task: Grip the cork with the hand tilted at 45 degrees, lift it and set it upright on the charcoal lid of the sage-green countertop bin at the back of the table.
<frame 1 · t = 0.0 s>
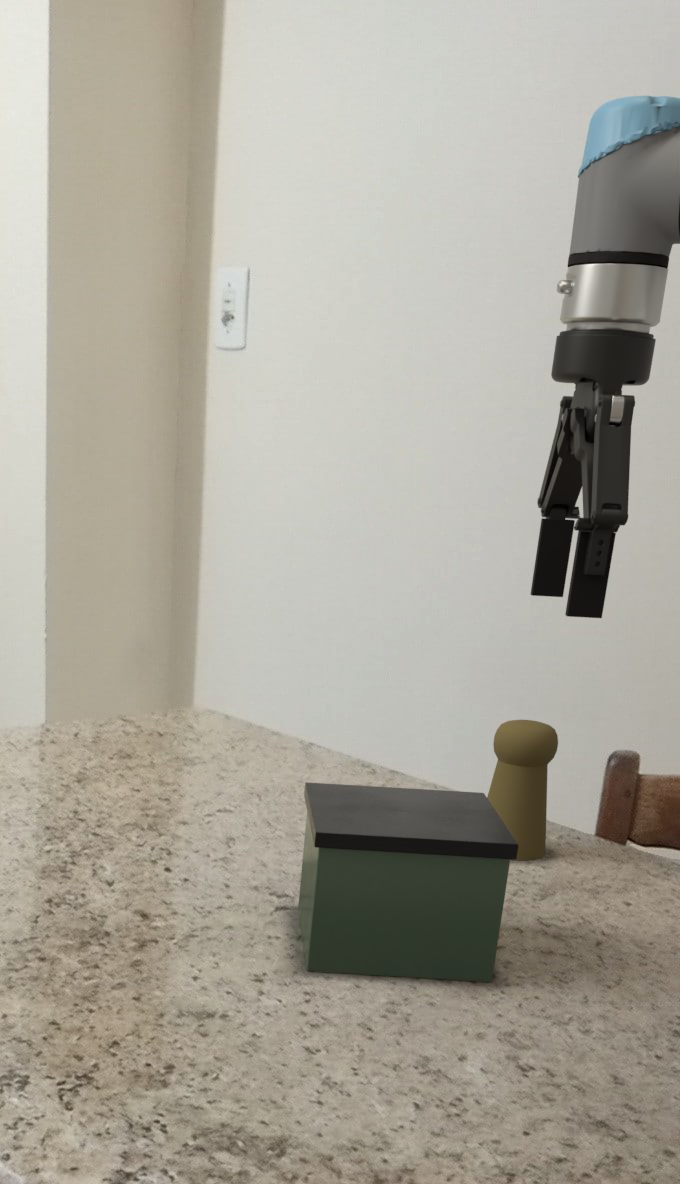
hand: (563, 606, 116), 20 cm above the table, tool pointing down, fingers open, 13 cm apart
bin: (388, 944, 95), on the table
cork: (509, 851, 118), on the table
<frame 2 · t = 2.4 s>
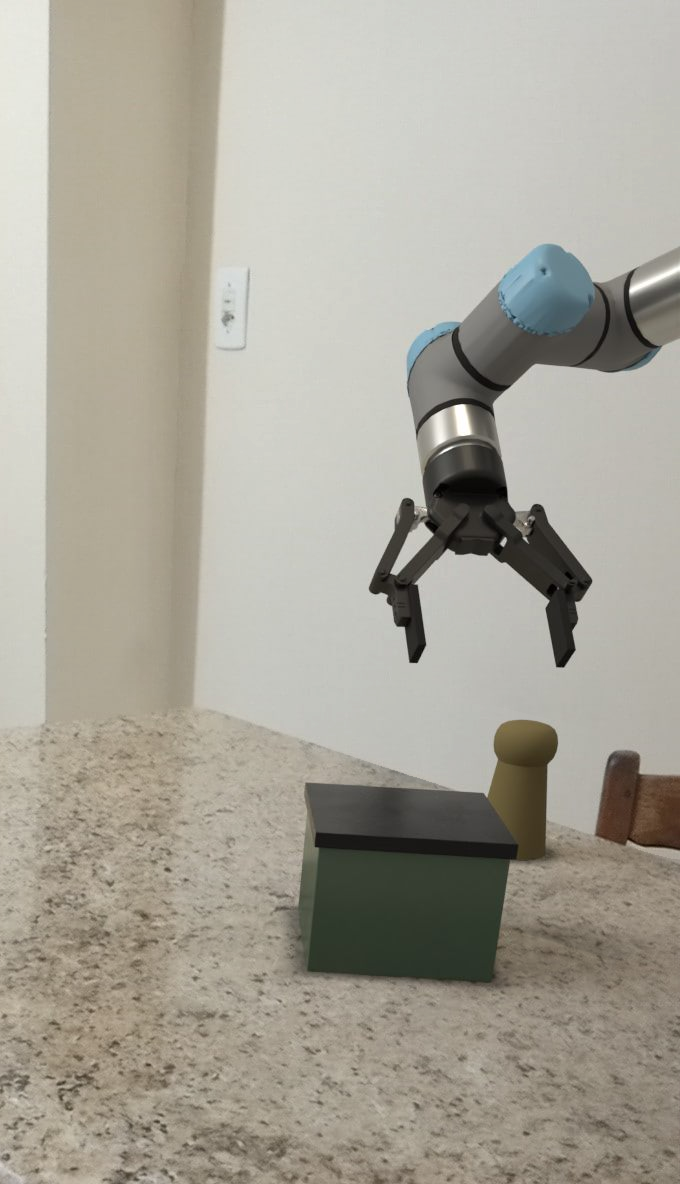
hand: (492, 656, 122), 15 cm above the table, tool tilted 45°, fingers open, 13 cm apart
nothing on the table moved.
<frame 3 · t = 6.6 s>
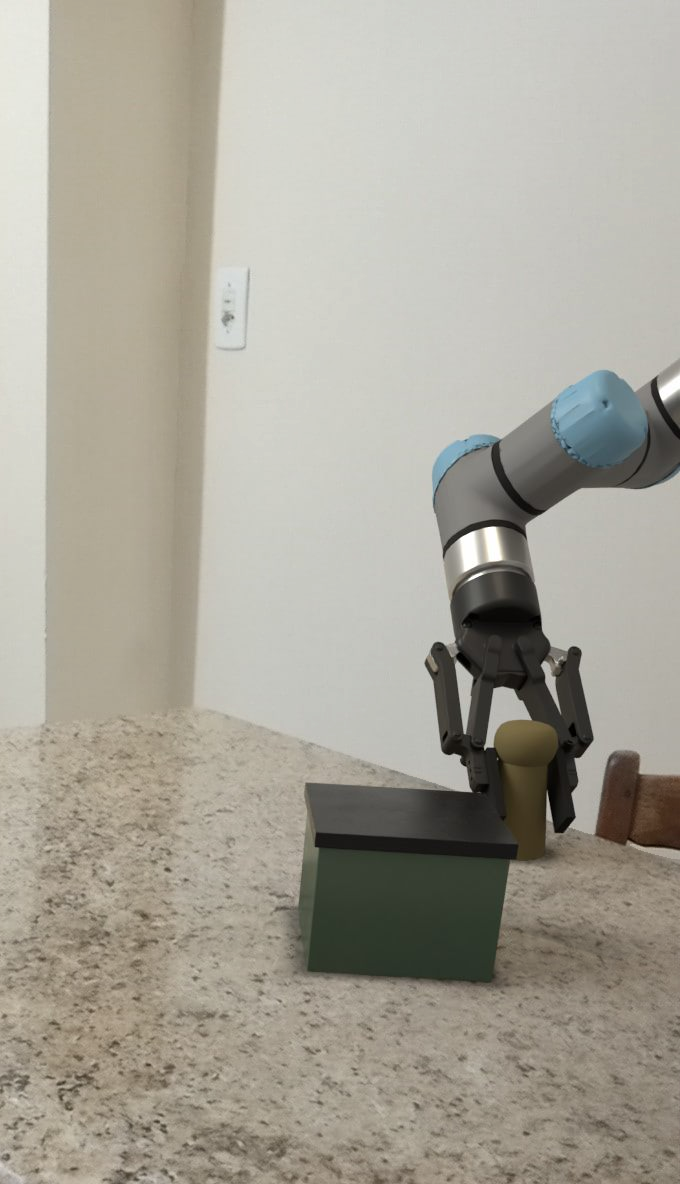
hand: (530, 824, 113), 3 cm above the table, tool tilted 45°, fingers closed on cork, 5 cm apart
cork: (509, 851, 118), on the table, touching gripper
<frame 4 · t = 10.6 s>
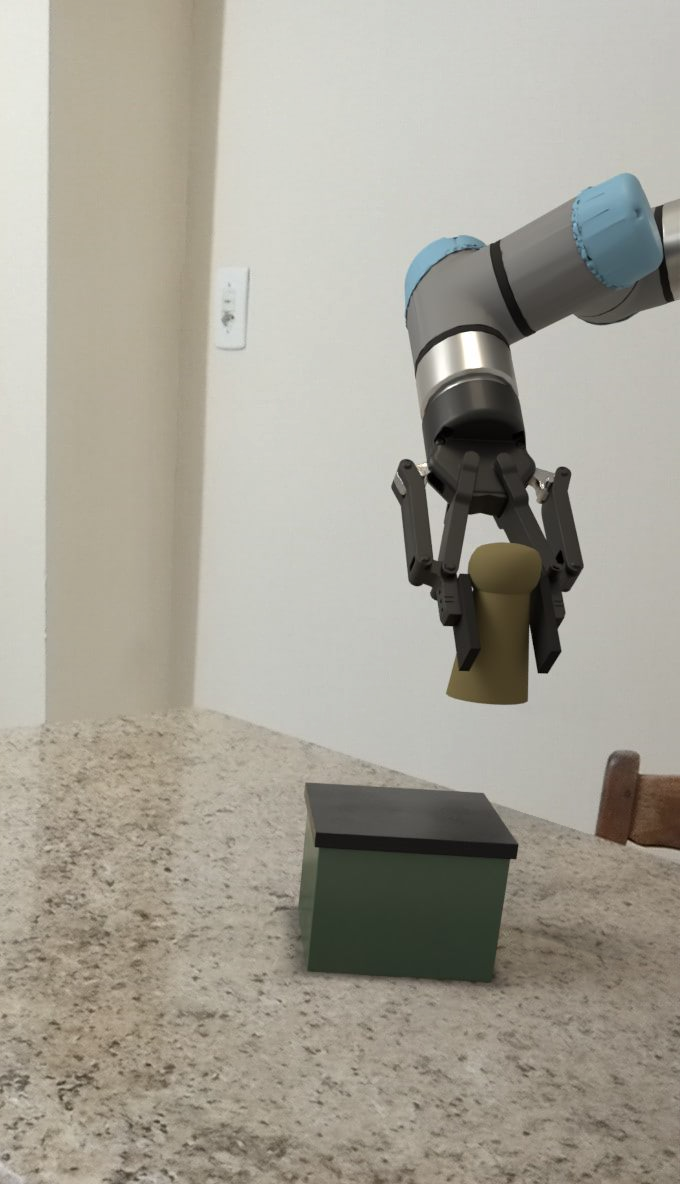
hand: (509, 660, 98), 18 cm above the table, tool tilted 45°, fingers closed on cork, 5 cm apart
cork: (486, 699, 103), point 15 cm above the table, touching gripper
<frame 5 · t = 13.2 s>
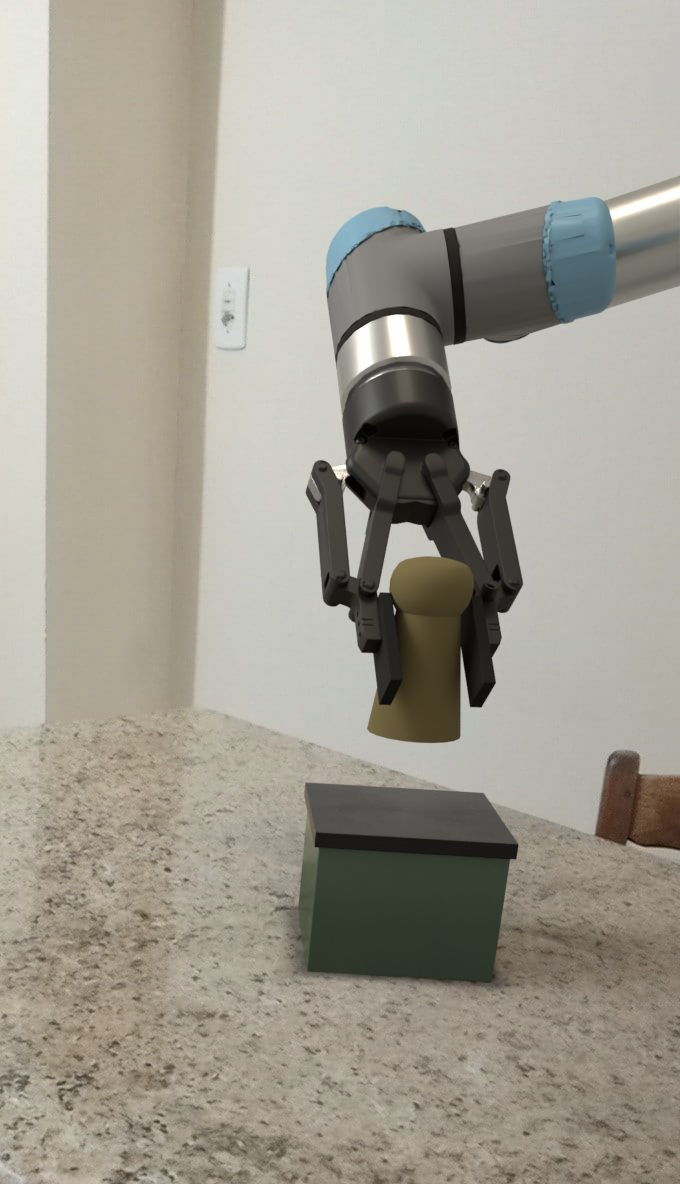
hand: (437, 693, 85), 18 cm above the table, tool tilted 45°, fingers closed on cork, 5 cm apart
cork: (413, 735, 90), point 15 cm above the table, touching gripper
when the fingers open (13 cm above the table, at t = 15.0 s): cork stays where it is, resting on bin.
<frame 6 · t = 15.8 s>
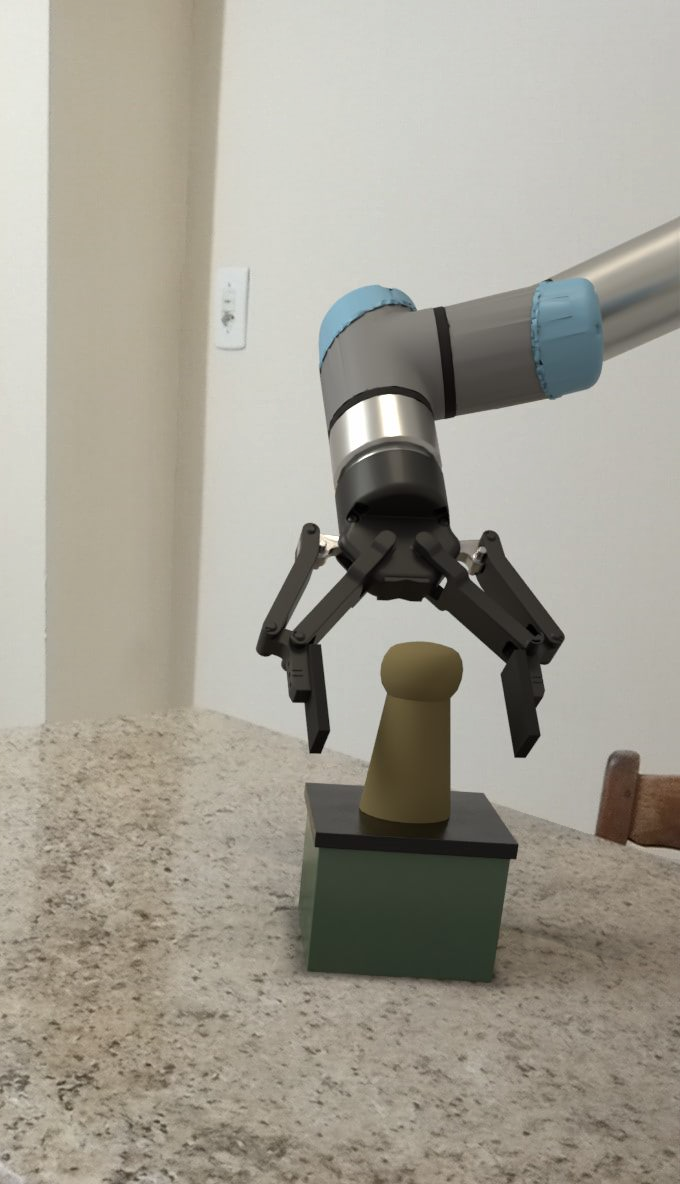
hand: (424, 745, 87), 14 cm above the table, tool tilted 45°, fingers open, 13 cm apart
cork: (404, 813, 92), point 9 cm above the table, touching bin
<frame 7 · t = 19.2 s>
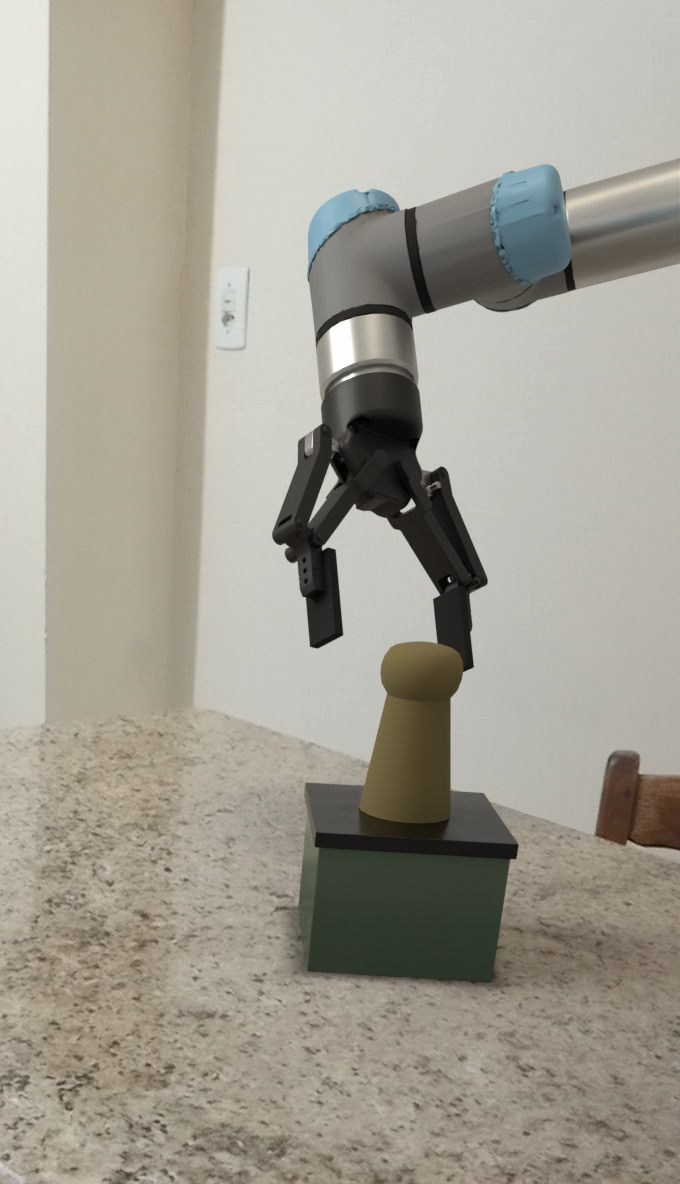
hand: (394, 658, 102), 17 cm above the table, tool tilted 30°, fingers open, 13 cm apart
nothing on the table moved.
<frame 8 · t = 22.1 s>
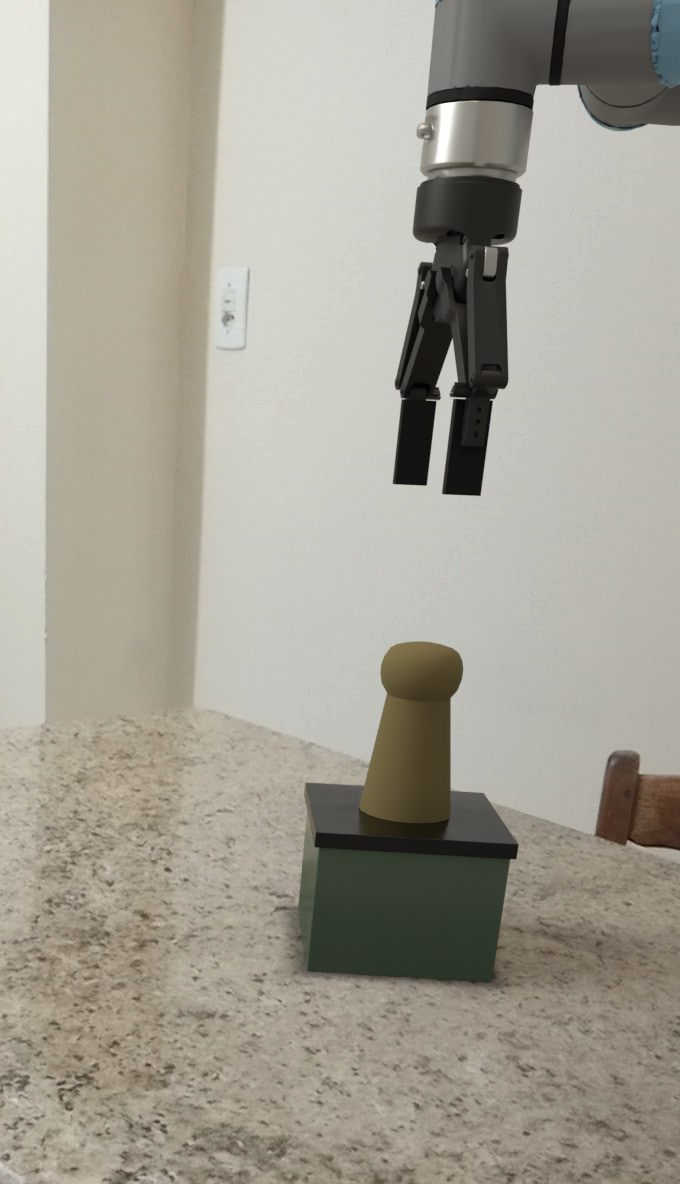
hand: (433, 490, 107), 29 cm above the table, tool pointing down, fingers open, 13 cm apart
nothing on the table moved.
at the end: cork inside the target area on the bin (0.1 cm from its centre), point 9.3 cm above the bin's base; cork tilted 0°; the gripper is holding nothing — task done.
